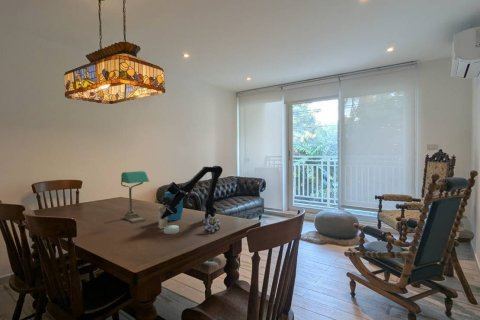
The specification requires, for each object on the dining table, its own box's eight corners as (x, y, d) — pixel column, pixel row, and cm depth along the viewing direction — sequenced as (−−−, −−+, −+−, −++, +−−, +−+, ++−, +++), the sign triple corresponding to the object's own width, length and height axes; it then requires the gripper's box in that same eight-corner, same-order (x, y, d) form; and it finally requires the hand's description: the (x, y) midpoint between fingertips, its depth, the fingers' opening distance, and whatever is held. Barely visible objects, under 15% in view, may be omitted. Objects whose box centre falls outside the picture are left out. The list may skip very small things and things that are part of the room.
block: (167, 221, 191) (166, 193, 190) (165, 219, 195) (164, 192, 194) (183, 218, 197) (182, 191, 196) (180, 217, 201) (180, 190, 200)
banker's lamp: (139, 215, 210) (138, 170, 208) (151, 220, 194) (150, 171, 193) (118, 218, 199) (117, 171, 197) (129, 224, 184) (127, 173, 182)
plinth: (181, 230, 170) (181, 225, 170) (174, 234, 161) (174, 229, 161) (168, 229, 172) (168, 224, 172) (161, 233, 163) (160, 228, 163)
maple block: (165, 226, 179) (165, 206, 178) (167, 227, 175) (167, 207, 174) (158, 227, 177) (158, 207, 176) (160, 228, 173) (159, 208, 172)
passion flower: (213, 240, 165) (204, 228, 159) (204, 233, 173) (195, 221, 167) (226, 228, 169) (218, 215, 163) (216, 221, 178) (209, 209, 172)
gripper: (165, 189, 185) (148, 207, 180) (171, 193, 169) (154, 213, 164) (176, 199, 189) (161, 217, 184) (184, 204, 173) (167, 223, 168)
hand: (160, 217), depth 175 cm, fingers closed on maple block, 5 cm apart
